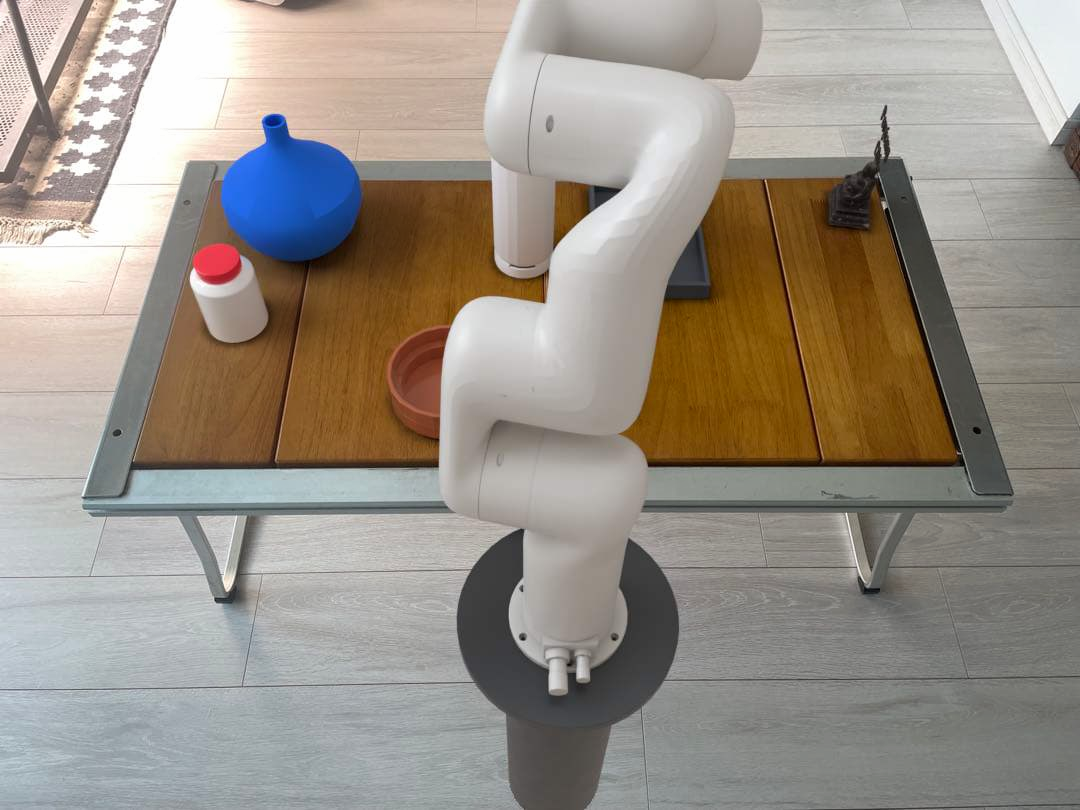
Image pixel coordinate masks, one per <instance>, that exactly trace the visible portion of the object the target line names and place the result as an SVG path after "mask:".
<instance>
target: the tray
mask: <svg viewBox="0 0 1080 810" xmlns="http://www.w3.org/2000/svg"><path fill="white" fill-rule="evenodd" d="M622 190H623V189H617V188H610V187H603V186H596V185H589V184H588V211H589V212H588V213H589V214H590V213H591V212H592V211H594V210H595V209H597V208H598V207H599V206H601V205H602V204H604V203H605V202H607V201H608V200H610V199H611V198H613V197H614V196H615V195H617V194H618V193H619V192H620V191H622ZM710 278H711V277H710V271H709V265H708V260H707V253H706V246H705V240H704V233H703V227H702V222H701V223H700V224H699V226H698V228H697V229H696V231H695V233H694V234H693V236H692V238H691V239H690V241H689V242H688V244H687V246H686V247H685V249H684V251H683V252H682V254H681V256H680V257H679V259H678V261H677V263H676V265H675V267H674V269H673V271H672V273H671V275H670V277H669V280H668V284H667V287H666V291H665V295H664V299H674V300H675V299H677V300H678V299H680V300H682V299H685V300H686V299H688V300H690V299H695V300H696V299H697V300H698V299H699V300H702V299H703V300H707V299H708V298H709V295H710V290H711V279H710Z"/></svg>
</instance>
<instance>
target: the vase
mask: <svg viewBox="0 0 1080 810" xmlns="http://www.w3.org/2000/svg"><path fill="white" fill-rule="evenodd" d="M261 125H262V130H263V133H264V137H265V141H264V143H263V144H261V145H259V146H258V147H256V148H254V149H251V150H249V151H248V152H246V153H244V155H242V156H240V157H239V158H238V159H237V160H235V161H234V163H233V164H232V165H231V166H230V167H229V168H228V170H227V171H226V173H225V175H224V178H223V180H222V184H221V191H220V192H221V193H220V204H221V206H222V210H223V213H224V215H225V217H226V219H227V223H228V226H229V227H230V228H231V229H232V230H233V231H234V232H235V233H236V235H238V236H239V237H240V238H241V240H243V241H244V242H245V243H246V244H247V245H248V246H249V247H250V248H252V249H253V250H255V251H257V252H259V254H262V255H265V256H267V257H269V258H272V259H275V260H278V261H279V260H280V261H282V262H304V261H310V260H314V259H317V258H320V257H323V256H325V255H327V254H328V253H330V252H332V251H333V250H334V249H336V248H337V247H338V246H339V245H340V244H342V243H343V242H344V241H345V239H347V237H348V236H349V235H350V233H351V231H352V230H353V229H354V227H355V224H356V221H357V217H358V215H359V211H360V208H361V205H362V201H363V195H362V185H361V178H360V175H359V173H358V171H357V169H356V167H355V165H354V164H353V162H351V160H350V158H348V157H347V155H345V154H344V153H343V152H342V151H341V150H340V149H338V148H336V147H334V146H332V145H330V144H327V143H324V142H320V141H316V140H311V139H300V138H295V137H292V136H291V135H290V131H289V127H288V122H287V119H286V116H285V115H283V114H281V113H270V114H267V115H265V116H264V117H263V118H262V119H261Z"/></svg>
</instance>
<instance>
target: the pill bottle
mask: <svg viewBox="0 0 1080 810" xmlns="http://www.w3.org/2000/svg"><path fill="white" fill-rule="evenodd" d="M192 264H193V268H192V270H191V272H190V275H189V285H190V287H191V290H192V292H193V295H194V298H195V300H196V303H197V306H198V307H199V310H200V313H201V315H202V317H203V321H204V322H205V324H206V327H207V330H208V332H209V333H210V335H211V336H212V337H213V338H215V339H216V340H218V341H220V342H223V343H229V344H234V343H237V344H238V343H242V342H246V341H250V340H251V339H253V338H255V337H257V336H258V335H259V334H261V332H263V331H264V329H265V328H266V327H267V324H268V322H269V311H268V309H267V305H266V303H265V299H264V296H263V293H262V289H261V286H260V283H259V280H258V277H257V275H256V271H255V267H254V265H253V263H252V262H251V260H250V259H248V258H247V257H246V256H244V255H242V254H240V253H239V251H238V249H237V248H236V247H234V246H233V245H231V244H228V243H227V244H226V243H214V244H210V245H207V246H204V247H203V248H201V249H199V251H197V253H196V254H195V255H194V257H193V260H192Z"/></svg>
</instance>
